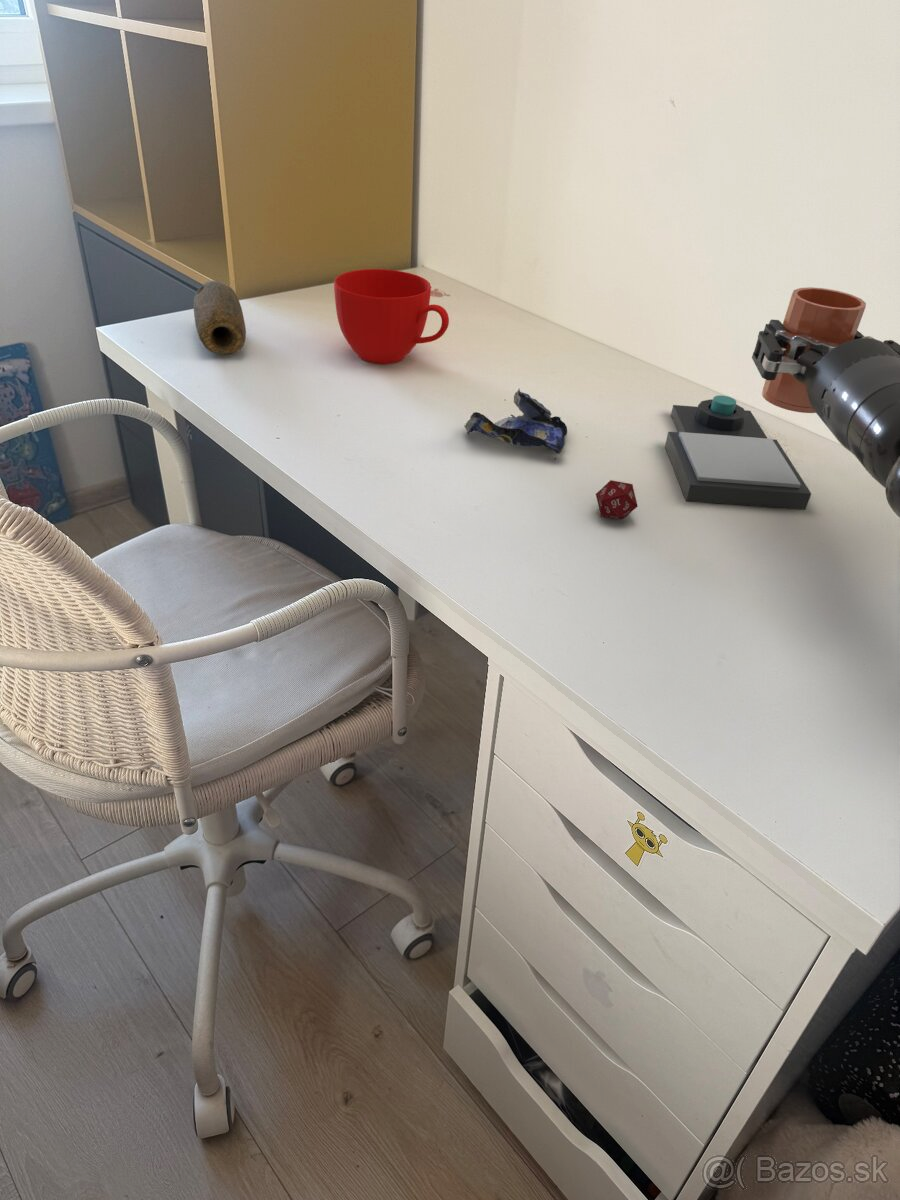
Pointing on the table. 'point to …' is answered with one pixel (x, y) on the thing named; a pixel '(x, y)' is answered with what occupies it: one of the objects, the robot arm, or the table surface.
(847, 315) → the cup
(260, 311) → the table surface
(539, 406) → the snack package
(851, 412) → the robot arm
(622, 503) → the dice
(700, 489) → the scale
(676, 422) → the pad
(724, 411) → the button
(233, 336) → the stone weight
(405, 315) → the ceramic cup
